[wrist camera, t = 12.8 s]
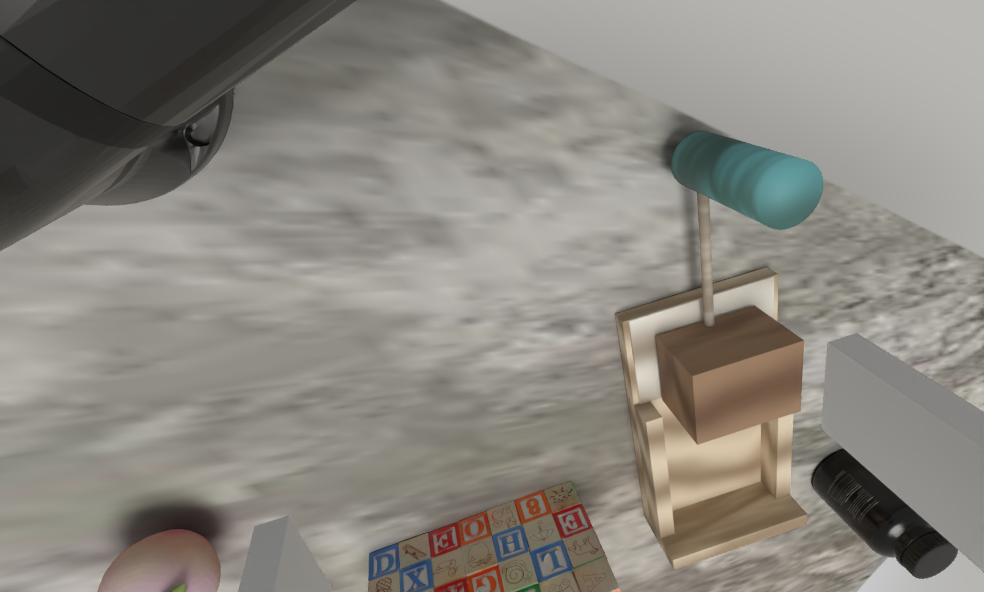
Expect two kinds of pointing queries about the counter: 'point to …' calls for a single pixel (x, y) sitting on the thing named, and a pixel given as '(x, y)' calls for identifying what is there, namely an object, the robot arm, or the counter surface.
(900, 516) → the supplement bottle
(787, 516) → the lane board
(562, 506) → the stack of blocks
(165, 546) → the decorative fruit
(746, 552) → the counter surface
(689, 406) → the brown teal long piece
